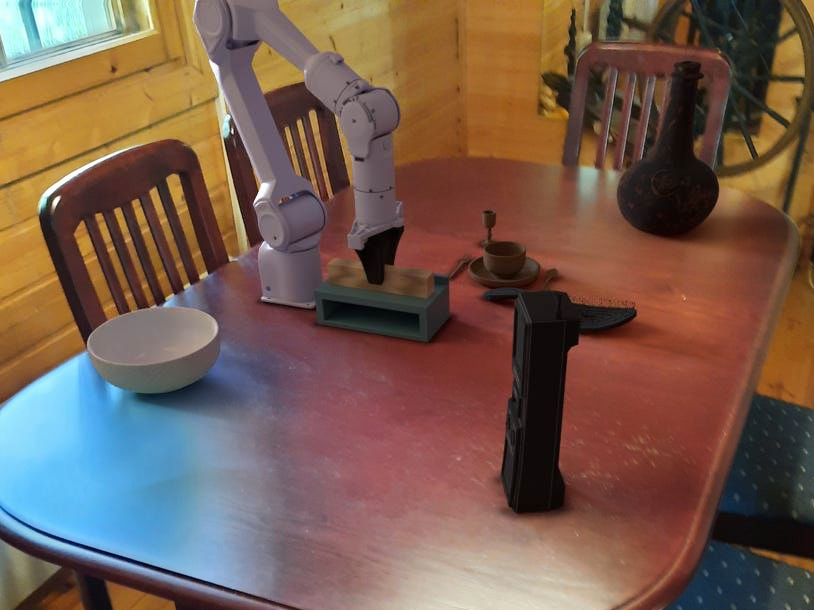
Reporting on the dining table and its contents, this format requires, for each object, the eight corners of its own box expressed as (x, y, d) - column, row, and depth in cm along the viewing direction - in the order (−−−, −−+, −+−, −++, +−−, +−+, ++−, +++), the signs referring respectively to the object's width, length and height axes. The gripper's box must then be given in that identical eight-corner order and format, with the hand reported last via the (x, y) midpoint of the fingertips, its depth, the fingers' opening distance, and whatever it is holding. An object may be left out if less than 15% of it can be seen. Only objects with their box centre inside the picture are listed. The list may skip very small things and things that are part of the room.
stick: (328, 284, 128) (326, 263, 126) (336, 277, 130) (334, 257, 128) (427, 298, 123) (427, 278, 121) (434, 291, 125) (434, 271, 123)
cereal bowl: (112, 424, 108) (98, 375, 104) (89, 368, 120) (76, 322, 116) (242, 390, 114) (234, 343, 110) (208, 340, 126) (199, 296, 122)
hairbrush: (497, 270, 137) (646, 296, 125) (497, 292, 139) (644, 319, 127) (470, 289, 132) (624, 318, 120) (471, 312, 134) (622, 342, 122)
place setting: (440, 283, 141) (439, 248, 137) (481, 240, 155) (481, 208, 152) (543, 298, 135) (545, 262, 132) (575, 252, 150) (578, 219, 146)
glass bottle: (603, 238, 155) (620, 70, 138) (625, 206, 168) (643, 49, 151) (704, 250, 149) (734, 77, 133) (718, 216, 162) (747, 54, 146)
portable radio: (498, 472, 98) (504, 264, 83) (549, 468, 98) (565, 261, 83) (508, 515, 92) (517, 299, 77) (564, 511, 92) (583, 295, 77)
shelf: (317, 324, 130) (313, 282, 126) (344, 300, 136) (340, 260, 132) (427, 342, 124) (426, 299, 120) (449, 316, 131) (449, 275, 127)
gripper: (378, 206, 111) (384, 303, 119) (421, 173, 122) (424, 264, 130) (330, 200, 113) (339, 296, 121) (376, 168, 124) (381, 258, 132)
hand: (380, 279), depth 126 cm, fingers closed on stick, 3 cm apart
